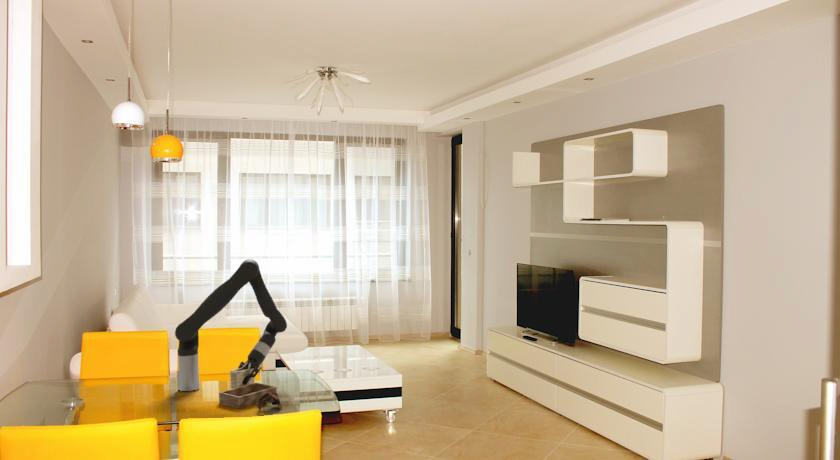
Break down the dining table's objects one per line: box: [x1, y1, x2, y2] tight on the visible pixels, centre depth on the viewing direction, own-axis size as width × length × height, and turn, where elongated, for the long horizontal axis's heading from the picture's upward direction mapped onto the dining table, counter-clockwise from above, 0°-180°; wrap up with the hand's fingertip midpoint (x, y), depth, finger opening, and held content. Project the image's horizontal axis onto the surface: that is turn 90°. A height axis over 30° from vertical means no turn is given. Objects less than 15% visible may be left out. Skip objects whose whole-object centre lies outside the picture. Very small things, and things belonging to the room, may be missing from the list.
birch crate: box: [229, 367, 255, 389], centre depth 305 cm, size 9×6×11 cm, turn 141°
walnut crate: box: [218, 382, 278, 410], centre depth 290 cm, size 20×15×5 cm
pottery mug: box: [256, 392, 283, 411], centre depth 277 cm, size 12×10×8 cm
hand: (239, 382), depth 304 cm, fingers closed on birch crate, 6 cm apart
